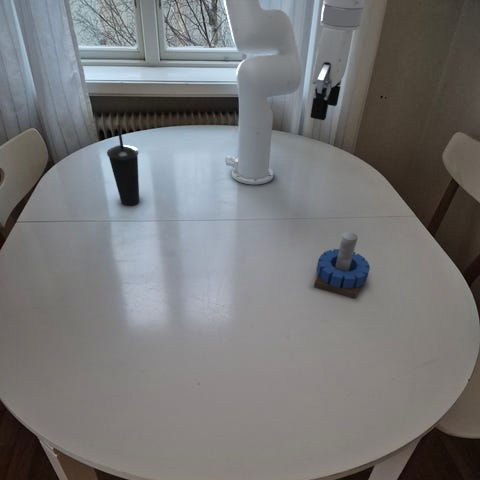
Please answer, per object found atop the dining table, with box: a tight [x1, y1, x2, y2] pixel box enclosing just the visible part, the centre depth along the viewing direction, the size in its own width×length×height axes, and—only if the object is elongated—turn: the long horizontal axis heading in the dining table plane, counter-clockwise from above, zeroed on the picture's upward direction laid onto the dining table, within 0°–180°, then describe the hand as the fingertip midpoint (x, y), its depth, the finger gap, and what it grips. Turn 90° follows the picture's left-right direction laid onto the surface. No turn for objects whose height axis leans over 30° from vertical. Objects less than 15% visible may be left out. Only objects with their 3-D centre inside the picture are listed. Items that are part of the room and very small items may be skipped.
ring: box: [316, 248, 371, 289], centre depth 93 cm, size 11×11×3 cm
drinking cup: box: [106, 124, 140, 207], centre depth 110 cm, size 8×8×20 cm
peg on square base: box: [313, 231, 360, 299], centre depth 91 cm, size 9×9×12 cm
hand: (323, 111), depth 94 cm, fingers open, 9 cm apart
